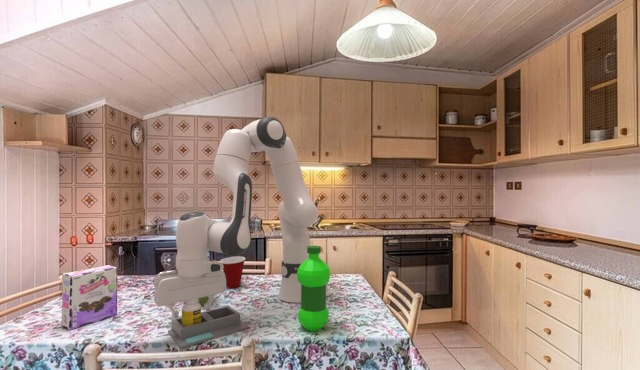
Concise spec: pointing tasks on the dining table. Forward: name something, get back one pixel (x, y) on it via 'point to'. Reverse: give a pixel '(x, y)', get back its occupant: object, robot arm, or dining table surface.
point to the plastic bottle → (313, 290)
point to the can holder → (207, 327)
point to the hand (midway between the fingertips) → (191, 313)
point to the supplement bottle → (191, 313)
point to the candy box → (89, 296)
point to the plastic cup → (233, 270)
